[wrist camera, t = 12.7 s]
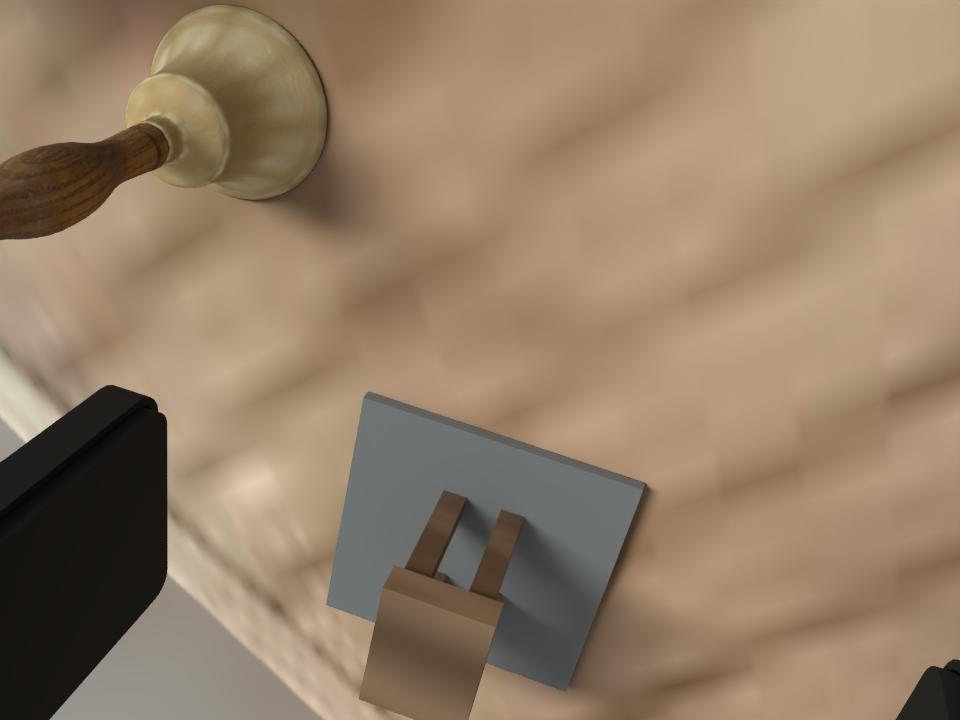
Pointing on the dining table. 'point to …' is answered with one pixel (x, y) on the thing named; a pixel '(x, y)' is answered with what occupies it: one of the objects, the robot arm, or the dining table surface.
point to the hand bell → (186, 126)
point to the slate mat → (484, 528)
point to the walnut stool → (437, 623)
